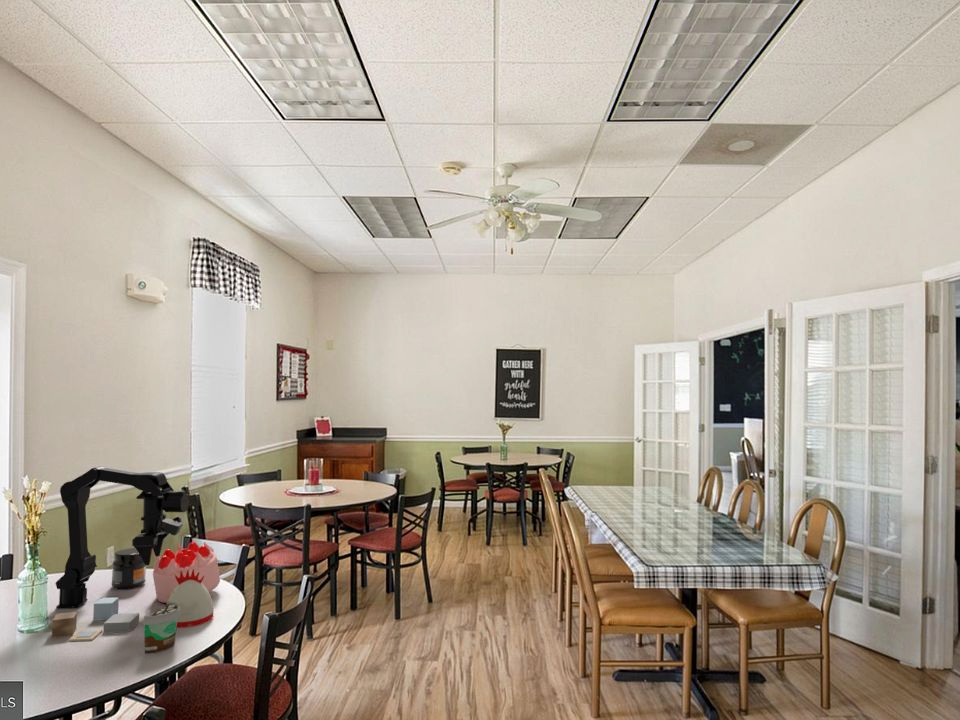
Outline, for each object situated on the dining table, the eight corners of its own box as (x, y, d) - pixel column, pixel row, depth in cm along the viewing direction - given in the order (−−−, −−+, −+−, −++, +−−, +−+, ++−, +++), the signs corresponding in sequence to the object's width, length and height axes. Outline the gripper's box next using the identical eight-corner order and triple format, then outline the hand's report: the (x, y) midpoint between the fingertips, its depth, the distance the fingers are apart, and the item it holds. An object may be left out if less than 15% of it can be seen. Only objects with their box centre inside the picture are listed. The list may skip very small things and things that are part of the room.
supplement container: (152, 583, 219) (153, 549, 220) (127, 592, 209) (128, 556, 210) (129, 579, 223) (131, 546, 223) (103, 588, 213) (105, 553, 213)
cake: (146, 596, 207) (140, 555, 205) (204, 572, 222) (198, 534, 221) (172, 609, 194) (165, 566, 193) (232, 583, 209) (226, 543, 208)
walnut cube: (51, 638, 171) (52, 620, 171) (55, 631, 176) (56, 613, 176) (72, 635, 173) (73, 617, 173) (76, 629, 178) (77, 611, 178)
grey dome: (166, 613, 191) (168, 564, 192) (214, 608, 196) (216, 561, 197) (159, 630, 178) (162, 577, 179) (211, 624, 183) (213, 573, 184)
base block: (103, 633, 175) (103, 623, 176) (113, 624, 182) (114, 614, 183) (129, 632, 177) (130, 622, 177) (139, 623, 184) (139, 613, 184)
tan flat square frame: (68, 641, 169) (68, 638, 169) (79, 632, 175) (79, 630, 175) (92, 640, 170) (92, 637, 170) (102, 631, 176) (102, 629, 176)
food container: (164, 656, 161) (166, 617, 162) (141, 655, 161) (143, 617, 162) (187, 637, 173) (189, 601, 174) (166, 636, 174) (167, 600, 174)
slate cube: (93, 620, 184) (93, 603, 185) (100, 614, 189) (101, 598, 189) (111, 619, 185) (111, 603, 185) (118, 613, 190) (118, 597, 190)
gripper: (170, 518, 191) (170, 568, 190) (188, 505, 209) (187, 551, 209) (131, 519, 189) (131, 570, 188) (153, 506, 207) (152, 552, 207)
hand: (152, 560), depth 198 cm, fingers open, 9 cm apart
